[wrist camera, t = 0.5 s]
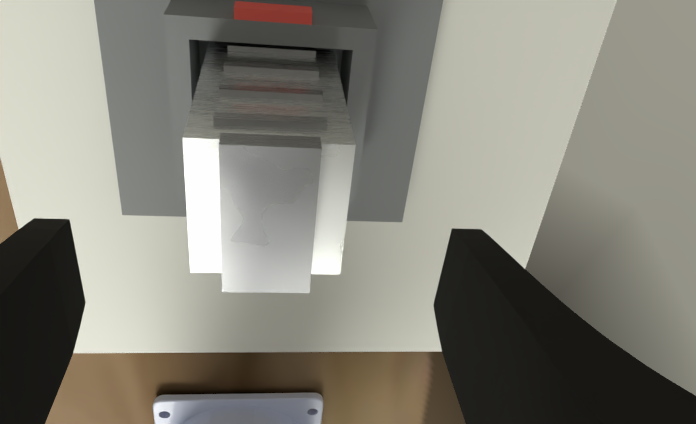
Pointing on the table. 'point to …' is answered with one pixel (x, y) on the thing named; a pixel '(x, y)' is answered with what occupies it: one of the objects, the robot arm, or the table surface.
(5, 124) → the jack stand base
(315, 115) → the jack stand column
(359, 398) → the table surface
